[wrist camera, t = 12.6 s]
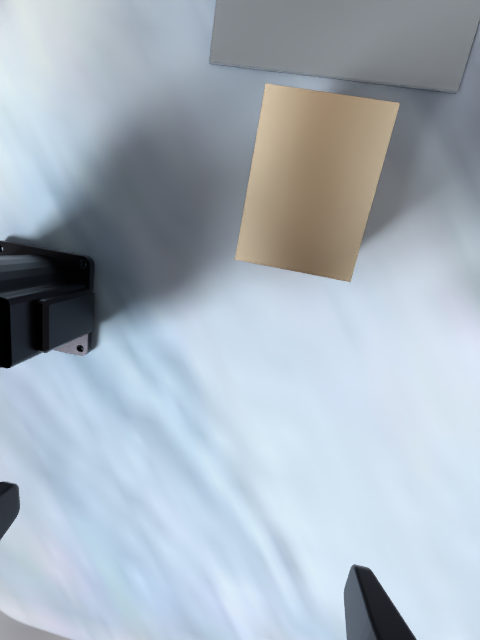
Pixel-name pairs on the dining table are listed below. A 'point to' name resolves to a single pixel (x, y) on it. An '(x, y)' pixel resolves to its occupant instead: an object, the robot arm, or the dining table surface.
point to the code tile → (350, 39)
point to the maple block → (313, 179)
